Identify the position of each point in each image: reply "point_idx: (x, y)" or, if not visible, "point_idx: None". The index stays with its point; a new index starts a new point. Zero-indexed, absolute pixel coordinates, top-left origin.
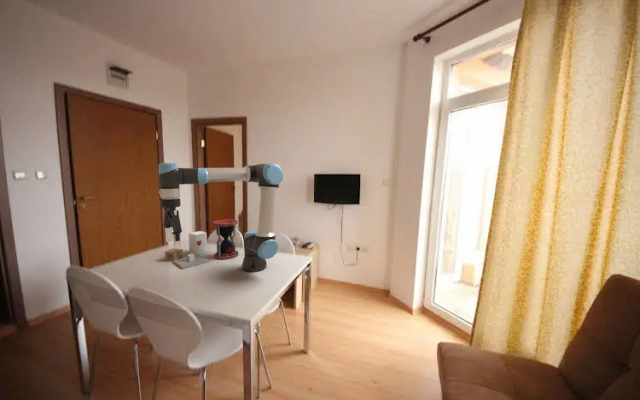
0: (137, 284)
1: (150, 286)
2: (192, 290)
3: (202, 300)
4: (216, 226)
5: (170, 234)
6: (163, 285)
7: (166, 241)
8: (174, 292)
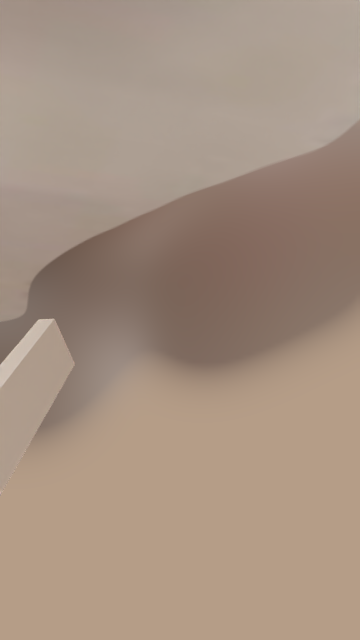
0: (14, 286)
1: (46, 254)
2: (167, 105)
3: (311, 78)
4: None
5: (21, 393)
6: (54, 215)
7: (72, 368)
8: (144, 185)
